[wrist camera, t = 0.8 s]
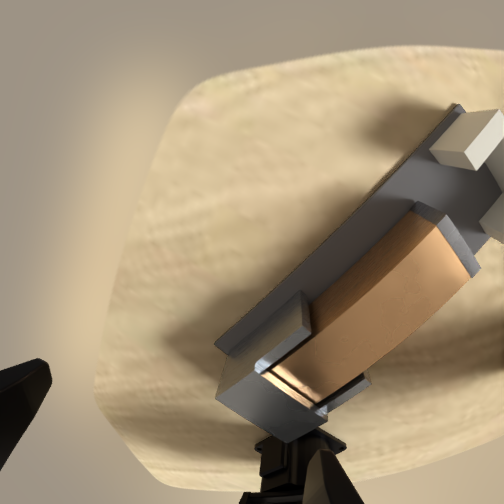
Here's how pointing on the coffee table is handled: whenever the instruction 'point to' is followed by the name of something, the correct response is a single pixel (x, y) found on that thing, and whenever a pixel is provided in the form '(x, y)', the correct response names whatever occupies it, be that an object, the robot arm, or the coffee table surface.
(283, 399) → the sleeve
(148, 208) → the coffee table surface
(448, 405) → the coffee table surface
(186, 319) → the coffee table surface
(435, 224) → the tan wooden block
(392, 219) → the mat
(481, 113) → the socket
